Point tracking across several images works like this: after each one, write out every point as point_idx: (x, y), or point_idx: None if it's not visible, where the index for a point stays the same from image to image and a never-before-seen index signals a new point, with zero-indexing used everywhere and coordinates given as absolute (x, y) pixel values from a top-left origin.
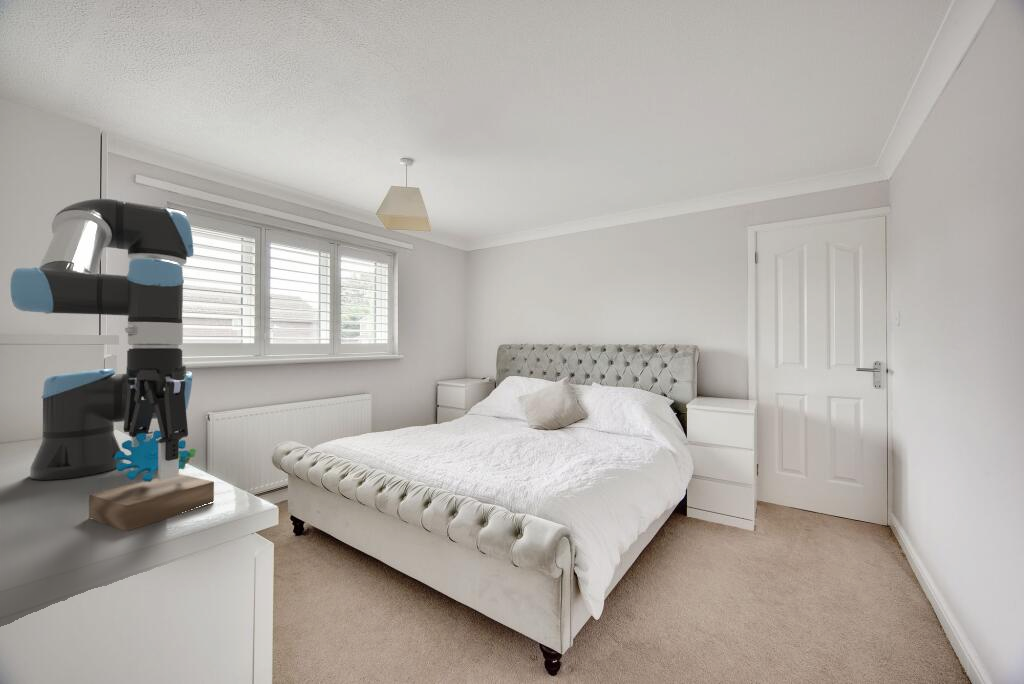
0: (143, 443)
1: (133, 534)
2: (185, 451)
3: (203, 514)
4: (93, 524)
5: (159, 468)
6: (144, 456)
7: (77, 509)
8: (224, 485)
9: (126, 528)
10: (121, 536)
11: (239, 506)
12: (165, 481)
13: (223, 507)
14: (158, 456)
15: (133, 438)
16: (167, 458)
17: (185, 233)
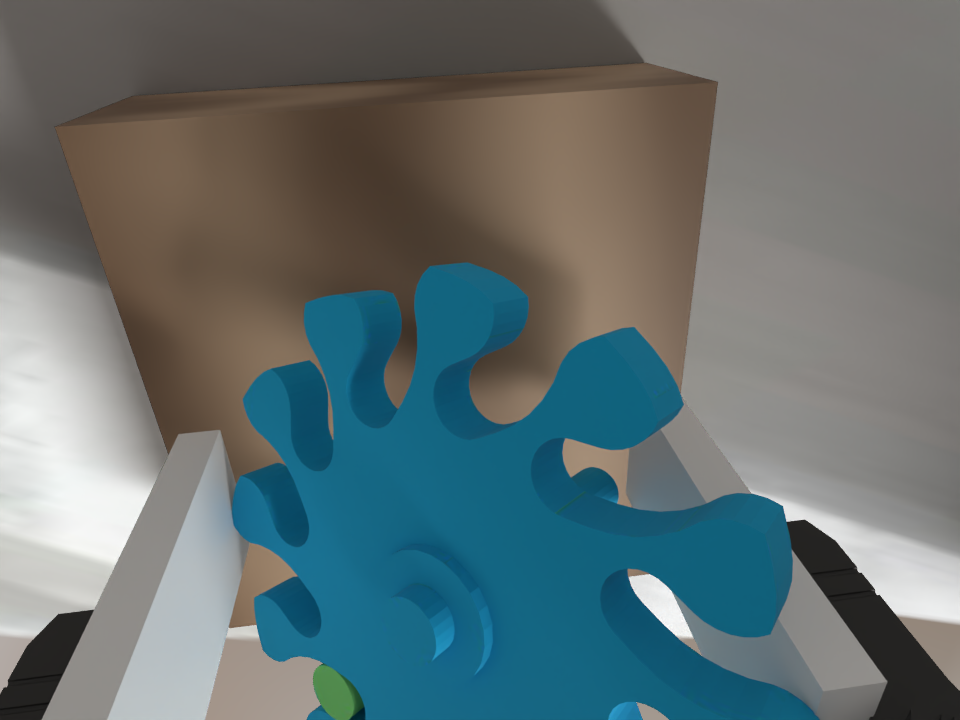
0: (611, 675)
1: (26, 96)
2: None
3: (95, 439)
4: (485, 31)
5: (163, 507)
6: (446, 539)
7: (904, 90)
8: None
9: (130, 98)
10: (46, 38)
11: (81, 569)
12: None
13: None
14: (149, 607)
15: (819, 683)
16: (67, 632)
17: None
